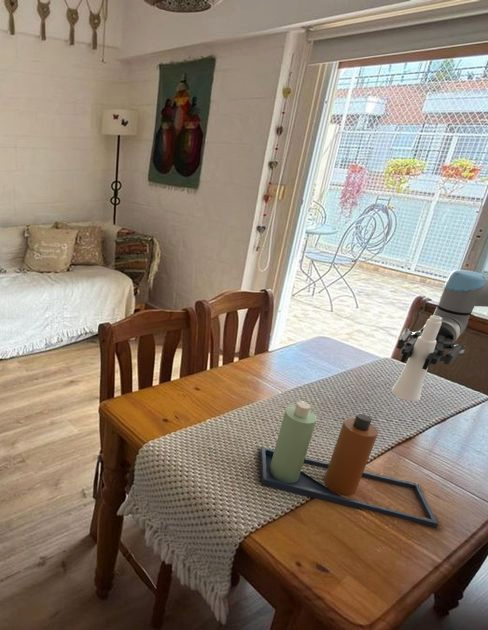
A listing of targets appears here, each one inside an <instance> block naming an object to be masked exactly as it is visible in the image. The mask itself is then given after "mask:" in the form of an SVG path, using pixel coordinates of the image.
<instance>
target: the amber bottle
mask: <svg viewBox="0 0 488 630" xmlns="http://www.w3.org/2000/svg"><path fill="white" fill-rule="evenodd" d="M372 420H373V419H372V417H371V416H370V415H367V414H365V413H359V412H358V413H357V414H356V416H355V417H348V418H345V419H344V420H343V422H342V425H341V428H340V431H339V434H338V436H337V440H336V443H335V446H334V449H333V452H332V455H331V457H330V460H329V462H328V463H329V466H328V468H326V469H327V470H326V471H325V472H326V473H325V475H324V478H323V482H324V485H325V486H326V488H327V489H328V490H329V491H331V492H332V493H334V494H336V495H338V496H344V497H350V496H354V495H355V494H356V492H357V490H358V487H359V484H360V481H361V480H362V478H363V477H362V474H363V471H365V469H366V465H367V463H368V461H369V459H370V456H371V453H372V452H373V451H372V450H373V448H374V445H375V442H376V440H377V438H378V435H379V430H378V428H377V427H376V426H375V425H374V424H372Z"/></svg>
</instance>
